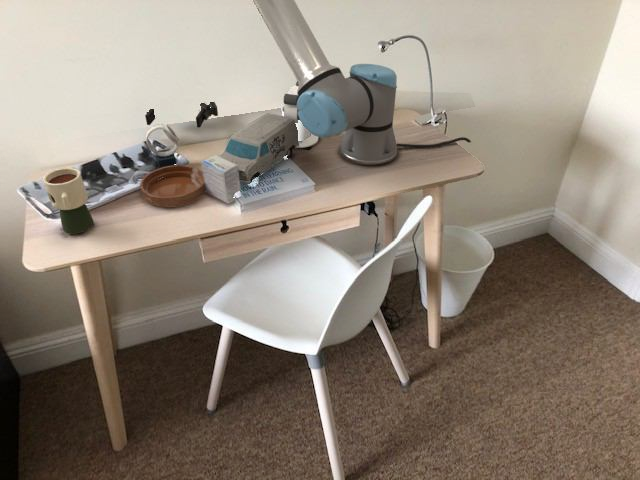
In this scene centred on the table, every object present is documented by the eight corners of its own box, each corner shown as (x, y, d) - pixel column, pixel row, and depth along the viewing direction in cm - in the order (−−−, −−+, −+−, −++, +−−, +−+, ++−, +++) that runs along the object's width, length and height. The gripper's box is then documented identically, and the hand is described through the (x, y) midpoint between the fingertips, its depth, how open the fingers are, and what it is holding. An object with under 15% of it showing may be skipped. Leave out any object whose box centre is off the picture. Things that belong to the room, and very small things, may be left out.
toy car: (213, 181, 129) (208, 145, 123) (268, 142, 146) (266, 108, 140) (248, 192, 125) (245, 155, 119) (301, 150, 142) (300, 116, 136)
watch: (185, 167, 135) (178, 127, 128) (153, 173, 132) (144, 133, 126) (181, 157, 139) (174, 118, 132) (150, 163, 136) (141, 123, 130)
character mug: (62, 217, 116) (43, 166, 108) (96, 211, 118) (80, 160, 110) (61, 245, 108) (40, 192, 100) (97, 238, 110) (80, 186, 102)
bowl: (213, 177, 131) (212, 166, 129) (197, 210, 119) (195, 199, 117) (155, 174, 132) (153, 163, 130) (133, 207, 120) (130, 195, 118)
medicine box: (242, 197, 123) (238, 164, 118) (227, 205, 121) (223, 172, 115) (220, 185, 127) (215, 154, 122) (205, 193, 125) (200, 161, 120)
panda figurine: (310, 151, 142) (309, 98, 133) (271, 145, 145) (268, 93, 135) (323, 133, 151) (323, 82, 142) (286, 128, 154) (284, 77, 145)
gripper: (237, 105, 156) (220, 136, 139) (156, 101, 158) (129, 132, 141) (235, 80, 151) (217, 110, 135) (151, 77, 153) (123, 106, 136)
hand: (172, 121), depth 138 cm, fingers open, 13 cm apart
